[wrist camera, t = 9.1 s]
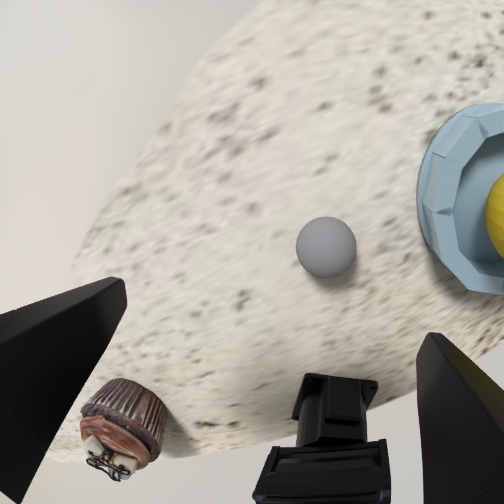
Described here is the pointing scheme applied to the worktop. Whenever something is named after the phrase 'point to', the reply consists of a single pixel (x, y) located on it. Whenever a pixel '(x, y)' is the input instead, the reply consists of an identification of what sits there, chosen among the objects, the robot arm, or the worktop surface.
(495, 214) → the lemon
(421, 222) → the dish
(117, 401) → the cupcake
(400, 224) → the worktop surface
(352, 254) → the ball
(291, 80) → the worktop surface
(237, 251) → the worktop surface
